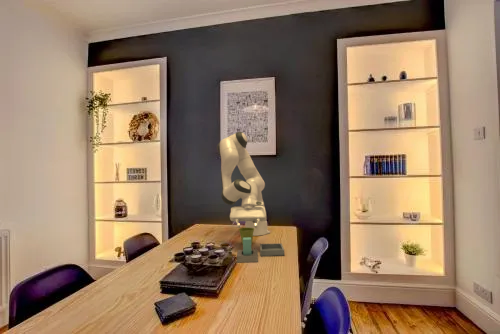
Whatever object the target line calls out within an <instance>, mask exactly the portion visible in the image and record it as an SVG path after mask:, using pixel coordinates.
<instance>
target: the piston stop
mask: <svg viewBox="0 0 500 334" xmlns="http://www.w3.org/2000/svg"><path fill="white" fill-rule="evenodd" d="M242 250H243V255H248V254H252V250H253V249H252V244H251V237H246V238H243V244H242Z"/></svg>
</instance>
